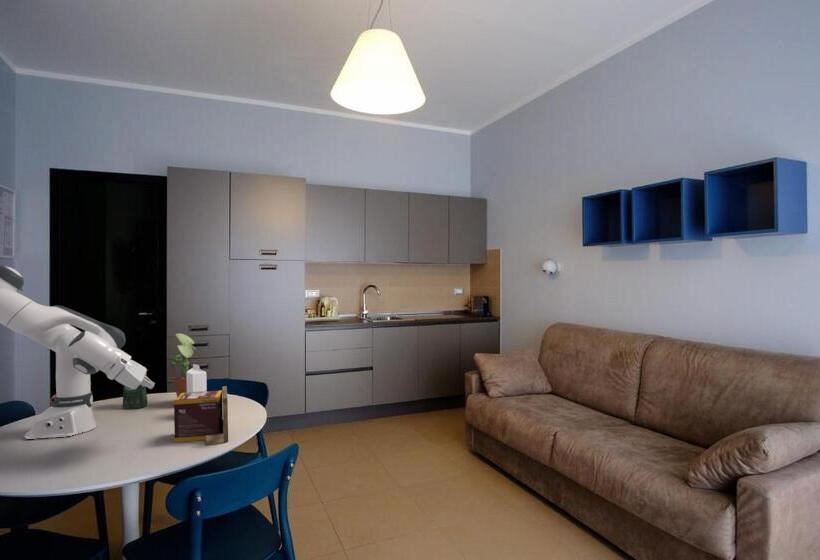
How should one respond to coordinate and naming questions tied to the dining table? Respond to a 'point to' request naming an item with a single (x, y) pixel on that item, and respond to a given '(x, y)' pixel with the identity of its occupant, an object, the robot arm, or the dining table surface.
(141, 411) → the dining table surface
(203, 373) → the milk
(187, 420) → the supplement box
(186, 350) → the potted plant
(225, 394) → the display stand
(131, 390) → the coffee jar
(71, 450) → the dining table surface
